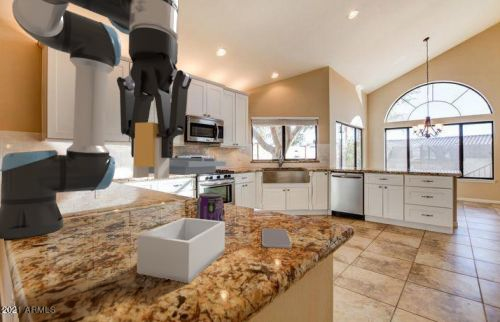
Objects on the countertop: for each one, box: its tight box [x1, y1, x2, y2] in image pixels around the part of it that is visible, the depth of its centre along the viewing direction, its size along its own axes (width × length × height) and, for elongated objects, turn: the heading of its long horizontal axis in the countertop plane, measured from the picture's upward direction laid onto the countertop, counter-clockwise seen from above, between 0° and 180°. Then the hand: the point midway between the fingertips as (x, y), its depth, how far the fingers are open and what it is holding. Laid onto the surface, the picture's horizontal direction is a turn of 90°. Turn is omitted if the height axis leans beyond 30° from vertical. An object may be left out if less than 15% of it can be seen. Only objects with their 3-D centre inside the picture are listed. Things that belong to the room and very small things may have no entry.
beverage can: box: [196, 192, 224, 222], centre depth 64 cm, size 7×7×12 cm
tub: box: [136, 217, 226, 284], centre depth 49 cm, size 11×15×7 cm
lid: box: [133, 121, 227, 176], centre depth 46 cm, size 12×20×8 cm, turn 162°
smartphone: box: [261, 227, 293, 249], centre depth 65 cm, size 7×1×15 cm
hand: (151, 177), depth 39 cm, fingers closed on lid, 3 cm apart
